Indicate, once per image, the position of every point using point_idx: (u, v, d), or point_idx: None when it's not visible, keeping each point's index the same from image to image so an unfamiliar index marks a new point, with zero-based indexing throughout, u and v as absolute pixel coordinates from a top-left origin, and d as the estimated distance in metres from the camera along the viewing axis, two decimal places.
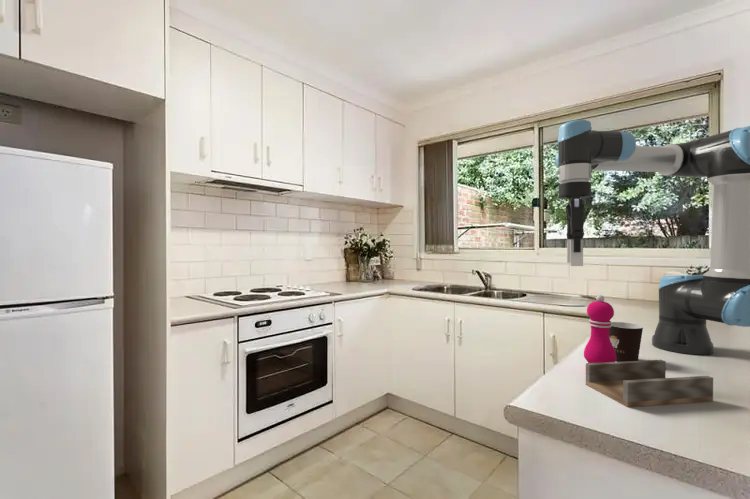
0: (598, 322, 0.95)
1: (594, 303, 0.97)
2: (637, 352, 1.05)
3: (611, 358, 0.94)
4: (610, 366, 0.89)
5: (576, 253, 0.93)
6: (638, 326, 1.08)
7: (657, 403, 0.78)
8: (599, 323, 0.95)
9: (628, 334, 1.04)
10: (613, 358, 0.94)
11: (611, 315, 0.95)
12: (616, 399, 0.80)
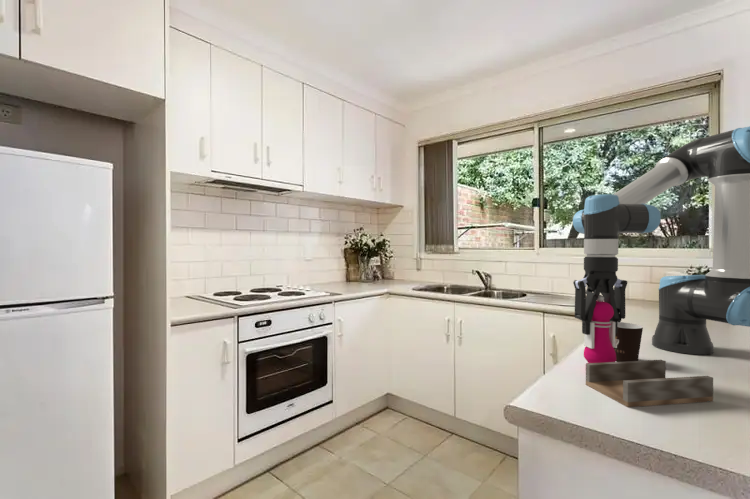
0: (598, 322, 0.95)
1: None
2: (637, 352, 1.05)
3: (611, 358, 0.94)
4: (610, 366, 0.89)
5: (587, 335, 0.97)
6: (638, 326, 1.08)
7: (657, 403, 0.78)
8: (599, 323, 0.95)
9: (628, 334, 1.04)
10: (613, 358, 0.94)
11: (611, 315, 0.95)
12: (616, 399, 0.80)
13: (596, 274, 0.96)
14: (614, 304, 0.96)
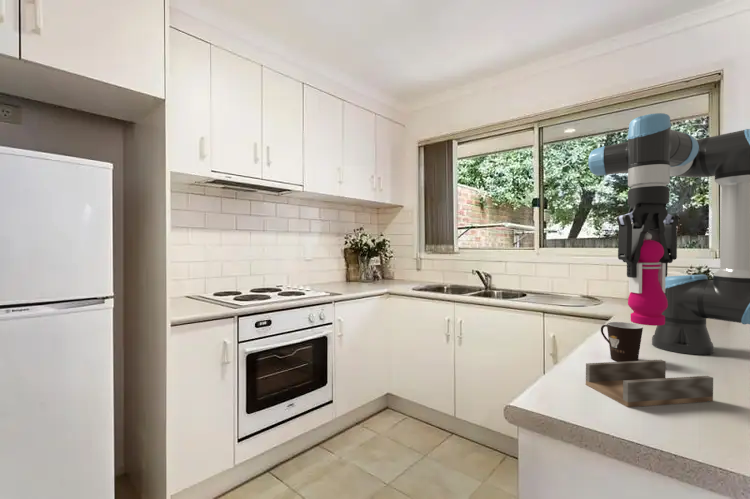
0: (646, 263, 0.82)
1: None
2: (637, 352, 1.05)
3: (662, 303, 0.81)
4: (610, 366, 0.89)
5: (633, 278, 0.84)
6: (638, 326, 1.08)
7: (657, 403, 0.78)
8: (647, 264, 0.82)
9: (628, 334, 1.04)
10: (665, 303, 0.81)
11: (661, 254, 0.82)
12: (616, 399, 0.80)
13: (644, 207, 0.83)
14: (665, 242, 0.83)
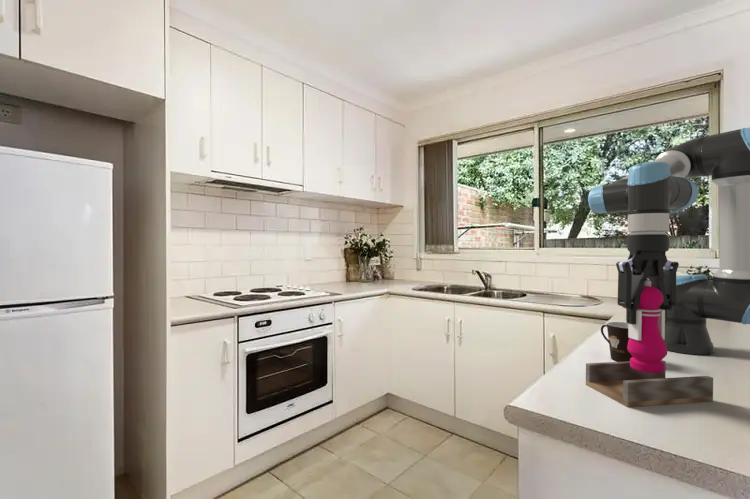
0: (645, 310, 0.83)
1: None
2: None
3: (662, 351, 0.81)
4: (610, 366, 0.89)
5: (633, 325, 0.84)
6: None
7: (657, 403, 0.78)
8: (646, 312, 0.83)
9: None
10: (664, 351, 0.81)
11: (661, 302, 0.82)
12: (616, 399, 0.80)
13: (643, 254, 0.83)
14: (664, 289, 0.84)
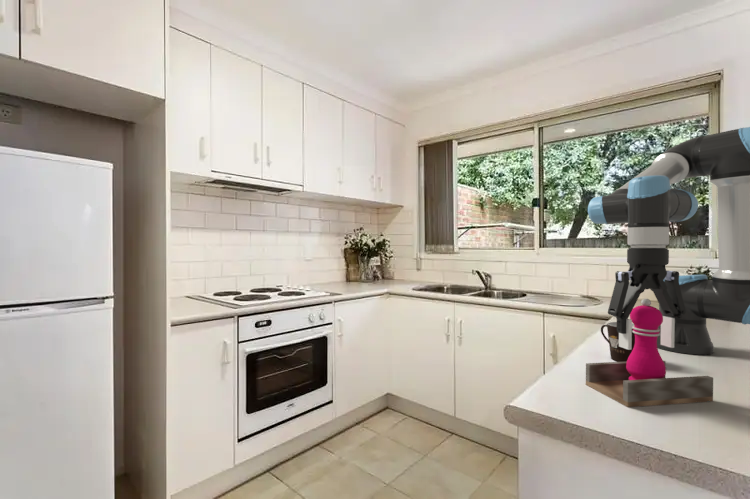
0: (645, 330, 0.83)
1: (639, 308, 0.84)
2: None
3: (661, 372, 0.81)
4: (610, 366, 0.89)
5: (623, 334, 0.84)
6: None
7: (657, 403, 0.78)
8: (646, 331, 0.83)
9: None
10: (663, 371, 0.81)
11: (660, 322, 0.82)
12: (616, 399, 0.80)
13: (644, 269, 0.83)
14: (670, 299, 0.84)
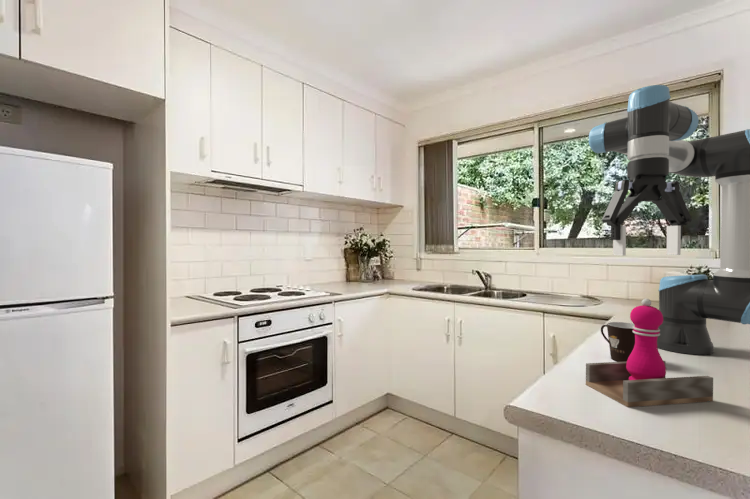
0: (645, 330, 0.83)
1: (640, 308, 0.84)
2: None
3: (661, 372, 0.81)
4: (610, 366, 0.89)
5: (617, 241, 0.84)
6: None
7: (657, 403, 0.78)
8: (646, 331, 0.83)
9: (628, 334, 1.04)
10: (663, 371, 0.81)
11: (660, 322, 0.82)
12: (616, 399, 0.80)
13: (645, 182, 0.83)
14: (673, 208, 0.84)
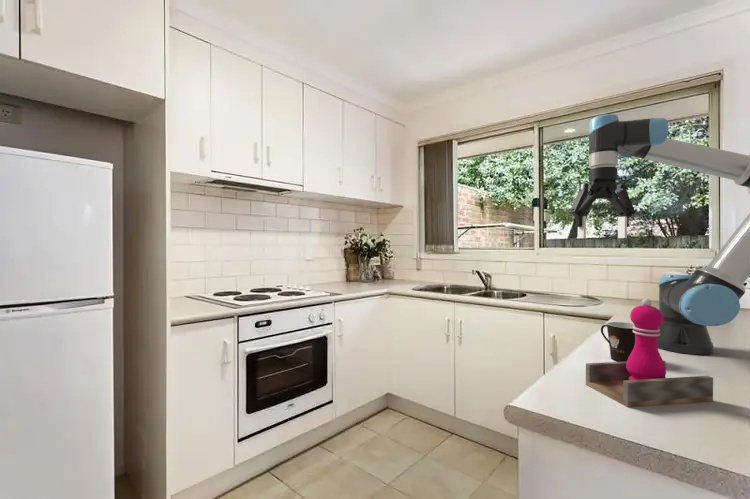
0: (645, 330, 0.83)
1: (640, 308, 0.84)
2: None
3: (661, 372, 0.81)
4: (610, 366, 0.89)
5: (580, 227, 1.15)
6: None
7: (657, 403, 0.78)
8: (646, 331, 0.83)
9: (628, 334, 1.04)
10: (663, 371, 0.81)
11: (660, 322, 0.82)
12: (616, 399, 0.80)
13: (600, 184, 1.14)
14: (621, 203, 1.15)
